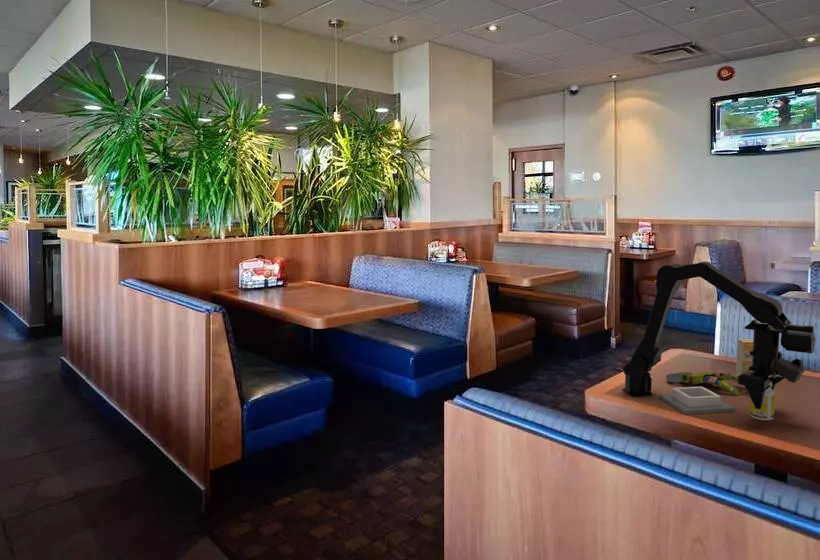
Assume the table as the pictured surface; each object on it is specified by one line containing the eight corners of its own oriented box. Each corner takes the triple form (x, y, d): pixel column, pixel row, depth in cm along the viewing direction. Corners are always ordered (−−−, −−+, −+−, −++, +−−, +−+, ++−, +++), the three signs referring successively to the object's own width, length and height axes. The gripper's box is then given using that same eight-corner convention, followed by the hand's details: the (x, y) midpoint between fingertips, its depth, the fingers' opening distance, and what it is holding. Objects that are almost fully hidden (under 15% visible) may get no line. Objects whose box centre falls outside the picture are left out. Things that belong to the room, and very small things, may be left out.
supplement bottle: (765, 413, 158) (767, 377, 157) (778, 420, 153) (780, 383, 152) (745, 413, 158) (747, 378, 157) (757, 421, 153) (759, 384, 152)
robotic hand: (672, 371, 193) (760, 369, 178) (674, 394, 192) (763, 394, 177) (661, 373, 184) (753, 371, 168) (663, 397, 183) (756, 397, 168)
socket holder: (685, 414, 159) (686, 401, 158) (658, 397, 173) (659, 385, 172) (735, 411, 160) (735, 399, 160) (704, 394, 174) (704, 383, 174)
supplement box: (740, 383, 184) (743, 341, 183) (735, 378, 189) (737, 338, 187) (769, 383, 183) (772, 342, 181) (763, 379, 188) (765, 338, 186)
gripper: (788, 360, 141) (784, 423, 143) (813, 346, 153) (809, 405, 155) (738, 352, 149) (735, 411, 152) (765, 339, 162) (762, 395, 164)
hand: (762, 406), depth 155 cm, fingers closed on supplement bottle, 5 cm apart
